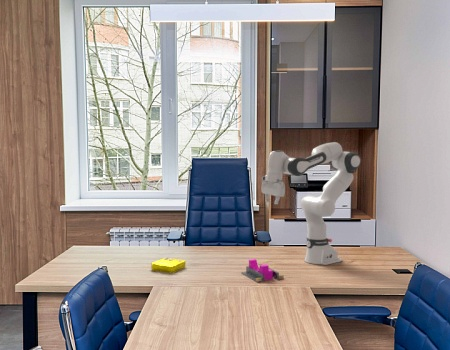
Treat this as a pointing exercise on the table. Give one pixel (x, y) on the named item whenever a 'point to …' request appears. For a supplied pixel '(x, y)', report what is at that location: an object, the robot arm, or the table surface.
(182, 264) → the yellow flat square slab
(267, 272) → the toy block
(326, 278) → the table surface
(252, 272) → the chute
